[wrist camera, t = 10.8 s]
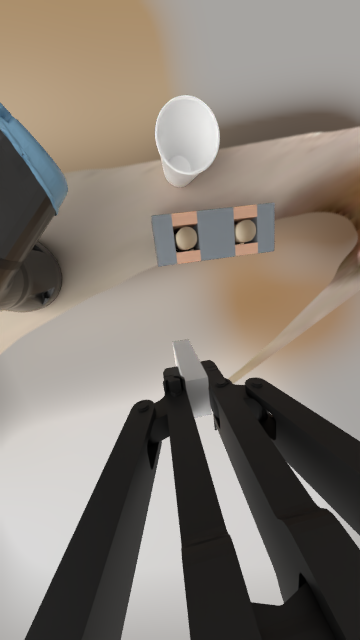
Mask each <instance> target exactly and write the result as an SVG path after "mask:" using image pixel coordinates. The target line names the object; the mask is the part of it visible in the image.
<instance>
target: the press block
mask: <svg viewBox="0 0 360 640" xmlns="http://www.w3.org/2000/svg"><path fill="white" fill-rule="evenodd" d="M243 220H251V221H252V222H253V223H254V224H255V226H256V234H255V236H254V238H253V239H252V240H250V241H248V242H244V244H241V245H235V233H234V224H238V223H240V222H242V221H243ZM183 227H191V228H192V229H194V230H195V232H196V234H197V242H196V244H195V245H194V246H193V249H194V251H187V252H179V253H176V248H175V240H174V233H173V231H179V230H180V229H181V228H183ZM152 228H153V235H154V241H155V248H156V255H157V261H158V266H166V265H174V264H180V263H189V262H196V261H203V260H211V259H219V258H225V257H234V256H241V255H249V254H256V253H264V252H270V251H274V203H266V204H257V205H247V206H238V207H229V208H219V209H210V210H201V211H192V212H182V213H173V214H164V215H154V216H152Z"/></svg>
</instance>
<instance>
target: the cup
mask: <svg viewBox="0 0 360 640" xmlns="http://www.w3.org/2000/svg"><path fill="white" fill-rule="evenodd" d="M155 140H156V145H157V148H158V151H159V154H160V157H161V161H162V166H163V171H164V175H165V177H166V179H167V181H168V182H169V183H170V184H171V185H173V186H175V187H184V186H186V185H188V184H189V183H190V182H191V181H192V180H193V179H194V178H195V177H196V176H197V175H198V174H200V173H201V172H203V171H204V170H206V169H207V168H208V167H209V166H210V165H211V164H212V162H213V161H214V159H215V157H216V155H217V153H218V149H219V143H220V132H219V126H218V122H217V120H216V117H215V115H214V113H213V112H212V110H211V109H210V108H209V107H208V105H206V103H204V102H203V101H202V100H200V99H198V98H196V97H194V96H189V95H182V96H178V97H175V98H173V99H171V100H170V101H168V102H167V103H166V104H165V105H164V106H163V108H162V109H161V111H160V113H159V115H158V118H157V120H156V126H155Z"/></svg>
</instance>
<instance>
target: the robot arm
mask: <svg viewBox="0 0 360 640" xmlns="http://www.w3.org/2000/svg"><path fill="white" fill-rule="evenodd" d="M67 192H68V187H67V182H66V179H65V177H64V175H63V173H62V172H61V170H60V169H59V167H58V166H57V165H56V163H55V162H54V161H53V159H52V158H51V157H50V156H49V155H48V153H47V152H46V151H45V150H44V149H43V147H42V146H41V145H40V144H39V143H38V142H37V140H36V139H35V138H34V137H33V136H32V135H31V134H30V133H29V132H28V130H27V129H26V128H25V127H24V126H23V125H22V124H21V123H20V122H19V121H18V120H17V119H15V118H14V117H12V116H11V114H10V112H8V110H7V109H6V108H5V107H4V106H3V105H2V104H1V103H0V311H3V310H5V311H13V312H30V311H35V310H38V309H40V308H43V307H45V306H47V305H49V304H50V303H51V302H52V301H53V300H54V299H55V298H56V297H57V295H58V293H59V291H60V288H61V283H62V276H61V271H60V267H59V265H58V263H57V261H56V259H55V257H54V256H53V255H52V253H51V252H50V251H49V250H48V249H47V248H46V247H44V246H43V245H42V244H40V243H39V242H37V241H38V239H39V238H40V236H41V235H42V233H43V232H44V230H45V229H46V227H47V225H48V224H49V222H50V221H51V219H52V218H53V216H54V215H55V216H56V215H57V214H58V211H59V207H60V205H61V204H62V202H63V200H64V198H65V197H66V195H67ZM172 343H173V349H174V356H175V363H176V367H172V368H166V369H165V370H164V372H163V375H164V381H163V385H164V391H165V396H164V397H163V398H162V399H161V400H160V401H158V402H156V403H153V401H151V400H142V401H139V402H137V403H136V404H135V405H134V406H133V407H132V409H131V411H130V414H129V415H128V418H127V420H126V422H125V424H124V426H123V428H122V430H121V433H120V435H119V437H118V439H117V441H116V443H115V446H114V448H113V450H112V452H111V454H110V457H109V459H108V461H107V463H106V465H105V467H104V469H103V472H102V474H101V476H100V478H99V480H98V482H97V484H96V487H95V489H94V491H93V493H92V495H91V497H90V500H89V502H88V504H87V506H86V508H85V510H84V513H83V515H82V517H81V519H80V521H79V523H78V526H77V528H76V530H75V532H74V534H73V536H72V538H71V540H70V543H69V545H68V547H67V549H66V551H65V553H64V556H63V558H62V560H61V562H60V564H59V566H58V569H57V571H56V573H55V575H54V577H53V579H52V582H51V584H50V586H49V588H48V590H47V592H46V594H45V597H44V599H43V601H42V603H41V605H40V607H39V609H38V612H37V614H36V616H35V619H34V620H33V622H32V625H31V627H30V629H29V631H28V633H27V636H26V638H25V640H121V635H122V630H123V625H124V621H125V615H126V611H127V606H128V602H129V597H130V592H131V587H132V582H133V577H134V573H135V568H136V564H137V559H138V553H139V549H140V544H141V539H142V535H143V530H144V525H145V521H146V516H147V511H148V506H149V502H150V497H151V492H152V487H153V482H154V478H155V473H156V468H157V464H158V459H159V454H160V449H161V443H162V440H163V439H165V438H167V437H169V436H170V443H171V453H172V461H173V471H174V479H175V489H176V497H177V507H178V516H179V525H180V534H181V543H182V549H181V550H182V563H183V573H184V582H185V591H186V600H187V609H188V620H189V629H190V638H191V640H360V550H359V548H358V547H357V545H356V544H355V542H354V541H353V540H352V538H351V537H350V536H349V534H348V533H347V532H346V530H345V529H344V528H343V526H342V525H341V524H340V522H339V521H338V520H337V518H336V517H335V516H334V515H333V514H332V513H331V512H330V511H329V510H327V509H324V508H320V507H318V506H317V505H316V503H314V501H313V500H312V498H311V497H310V495H309V494H308V492H307V491H306V489H305V488H304V487H303V485H302V484H301V482H300V481H299V479H298V478H297V477H296V475H295V474H294V472H293V471H292V469H291V468H290V466H291V467H292V468H294V470H295V471H296V472H297V473H298V474H299V475H300V476H301V477H302V478H303V479H304V480H305V481H306V482H307V483H308V484H310V486H311V487H312V488H313V489H314V490H315V491H316V492H317V493H318V494H319V495H320V496H321V497H322V498H323V499H324V500H325V501H326V502H327V503H328V504H329V505H330V506H331V507H332V508H333V509H334V510H335V511H336V512H337V513H338V514H339V515H340V516H341V517H342V518H343V519H344V520H345V521H346V522H347V523H348V524H349V525H350V526H351V527H352V528H353V529H354V530H355V531H356V532H357V533H358V534H359V535H360V441H358V440H357V439H355V438H354V437H352V436H351V435H349V434H348V433H346V432H344V431H343V430H341V429H340V428H338V427H337V426H335V425H334V424H332V423H330V422H329V421H327V420H326V419H324V418H323V417H321V416H320V415H318V414H317V413H315V412H313V411H312V410H310V409H309V408H307V407H306V406H304V405H303V404H301V403H299V402H298V401H296V400H295V399H293V398H292V397H290V396H289V395H287V394H285V393H284V392H282V391H281V390H279V389H278V388H276V387H275V386H273V385H272V384H270V383H268V382H267V381H265V380H263V379H261V378H249V379H248V380H246V382H245V385H235V384H232V382H231V381H230V380H229V379H226V378H224V377H223V375H222V374H221V372H220V371H219V370H218V368H217V366H216V365H215V363H214V362H212V361H211V360H207V361H202V362H200V361H199V359H198V357H197V355H196V353H195V351H194V349H193V347H192V345H191V344H190V341H189V339H185V340H180V341H174V342H172ZM211 409H212V411H213V416H214V425H215V430H217V429H218V431H219V434H220V436H221V439H222V441H223V444H224V446H225V449H226V451H227V453H228V456H229V458H230V461H231V463H232V466H233V468H234V470H235V473H236V476H237V478H238V481H239V483H240V485H241V488H242V490H243V493H244V495H245V498H246V500H247V503H248V505H249V508H250V510H251V513H252V515H253V518H254V520H255V522H256V525H257V528H258V530H259V533H260V535H261V538H262V540H263V542H264V545H265V547H266V550H267V552H268V555H269V557H270V560H271V562H272V565H273V567H274V570H275V573H276V576H277V579H278V583H279V587H280V591H281V595H282V598H283V601H284V604H283V605H280V606H276V605H268V604H260V603H252V602H250V598H249V595H248V592H247V588H246V585H245V581H244V578H243V575H242V572H241V568H240V565H239V561H238V558H237V555H236V551H235V548H234V545H233V542H232V539H231V537H230V535H229V534H228V532H227V530H226V526H225V523H224V519H223V516H222V513H221V509H220V506H219V502H218V499H217V495H216V492H215V488H214V485H213V481H212V478H211V474H210V471H209V468H208V464H207V460H206V457H205V454H204V450H203V447H202V443H201V440H200V436H199V433H198V429H197V426H196V422H195V419H194V418H197V417H202V416H206V415H211V414H212V412H211ZM269 412H270V413H271V414H272V415H271V414H270V413H269ZM288 464H289V465H290V466H289V465H288Z"/></svg>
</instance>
